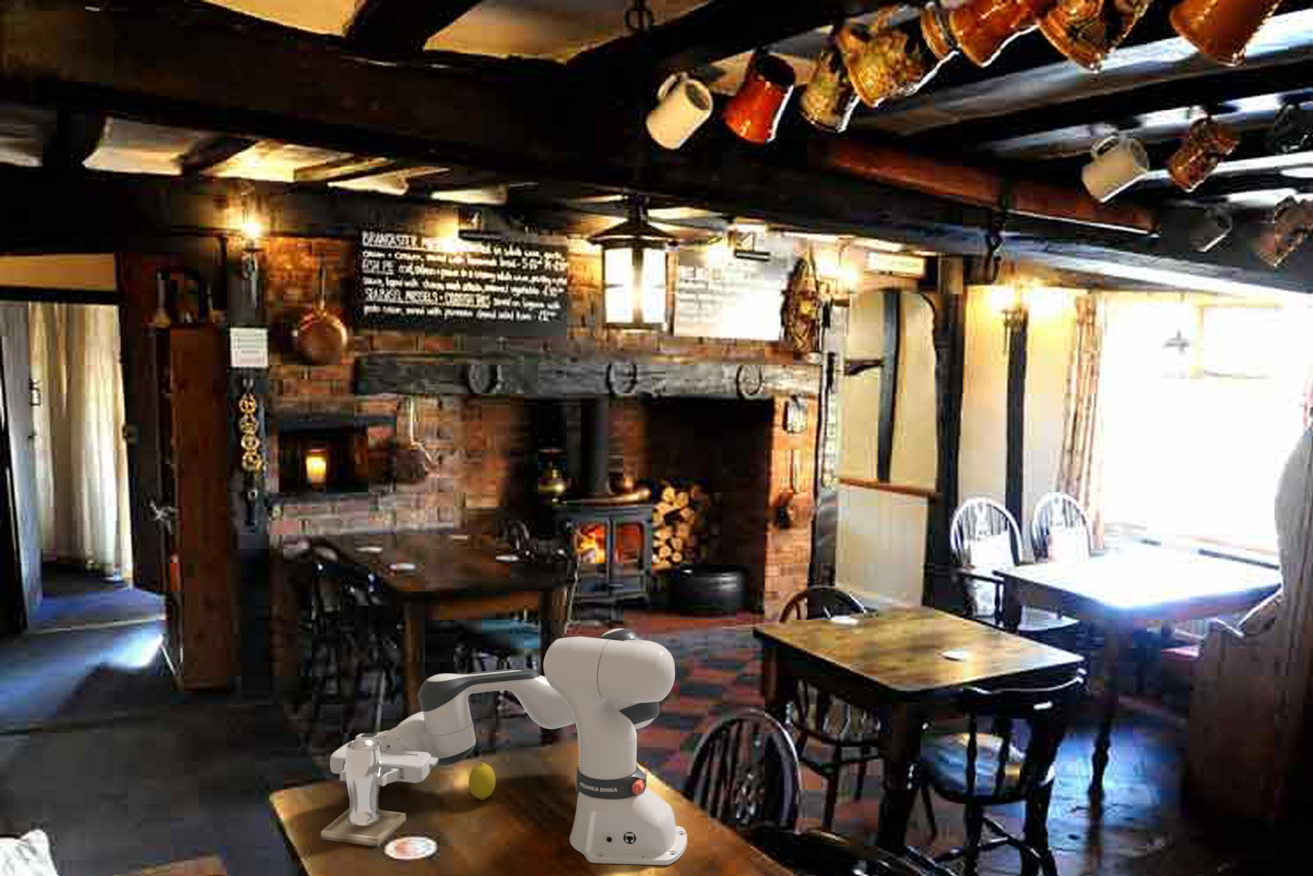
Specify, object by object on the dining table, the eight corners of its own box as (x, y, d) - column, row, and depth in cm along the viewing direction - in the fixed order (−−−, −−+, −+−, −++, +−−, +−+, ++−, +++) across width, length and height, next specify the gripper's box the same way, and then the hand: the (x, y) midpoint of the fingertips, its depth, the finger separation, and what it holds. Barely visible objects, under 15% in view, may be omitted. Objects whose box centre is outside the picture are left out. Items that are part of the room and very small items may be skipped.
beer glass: (371, 829, 188) (371, 752, 187) (338, 825, 189) (338, 749, 189) (388, 813, 195) (388, 739, 194) (356, 810, 196) (356, 736, 195)
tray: (405, 820, 196) (405, 813, 196) (377, 846, 186) (377, 839, 185) (351, 813, 199) (351, 806, 199) (320, 839, 188) (320, 831, 188)
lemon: (463, 802, 205) (463, 765, 204) (479, 792, 210) (479, 755, 209) (484, 808, 202) (484, 770, 202) (501, 797, 207) (501, 760, 206)
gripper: (442, 772, 202) (410, 801, 189) (352, 762, 207) (315, 789, 193) (442, 742, 202) (410, 769, 188) (352, 732, 206) (314, 758, 193)
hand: (361, 780), depth 191 cm, fingers closed on beer glass, 6 cm apart
